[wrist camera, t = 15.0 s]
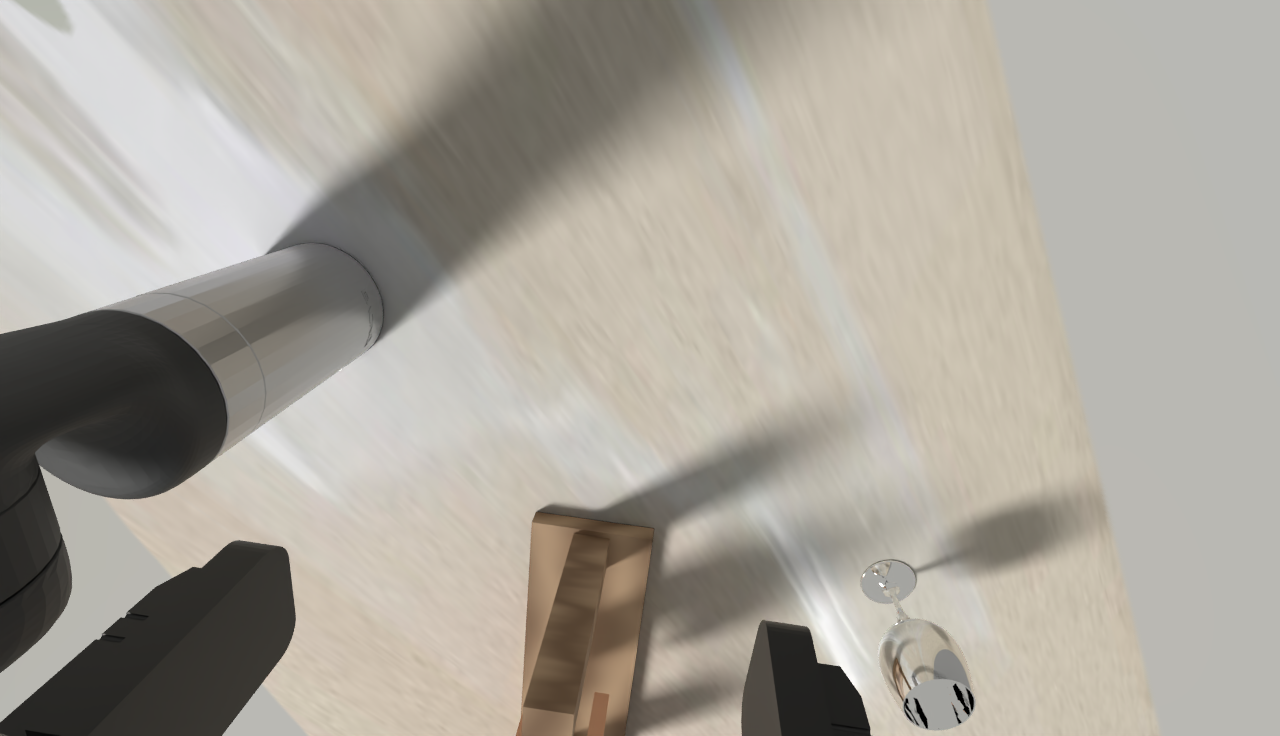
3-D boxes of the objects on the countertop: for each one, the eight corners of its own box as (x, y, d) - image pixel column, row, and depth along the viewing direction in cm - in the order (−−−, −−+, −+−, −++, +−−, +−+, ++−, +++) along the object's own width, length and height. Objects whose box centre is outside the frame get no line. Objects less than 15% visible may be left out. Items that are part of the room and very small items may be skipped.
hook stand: (522, 744, 64) (461, 966, 47) (536, 511, 53) (463, 691, 37) (620, 759, 64) (594, 988, 47) (653, 528, 53) (635, 717, 36)
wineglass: (895, 541, 52) (950, 658, 40) (937, 585, 53) (1002, 709, 42) (838, 578, 53) (875, 700, 42) (880, 619, 55) (927, 748, 43)
